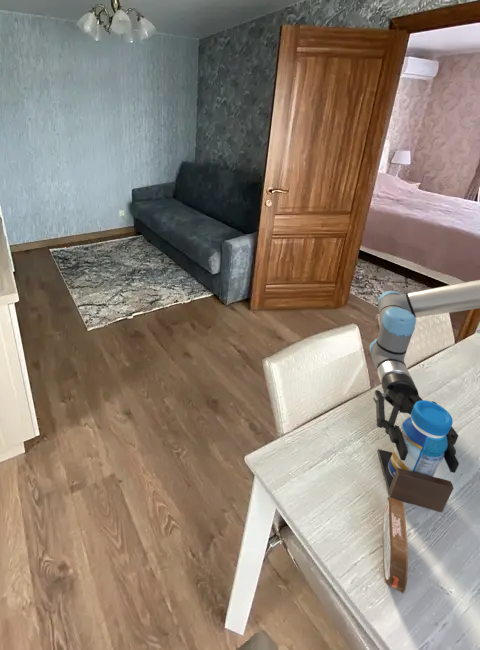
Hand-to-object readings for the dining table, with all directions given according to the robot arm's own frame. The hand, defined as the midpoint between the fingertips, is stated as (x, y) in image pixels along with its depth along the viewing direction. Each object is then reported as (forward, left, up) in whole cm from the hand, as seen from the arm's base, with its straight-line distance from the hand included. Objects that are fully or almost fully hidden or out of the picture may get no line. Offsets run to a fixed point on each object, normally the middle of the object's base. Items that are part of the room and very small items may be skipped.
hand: (429, 461), depth 71 cm
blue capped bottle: (+4, -2, -11) cm, 12 cm away
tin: (-9, +12, -12) cm, 19 cm away
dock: (+5, -2, -12) cm, 13 cm away
